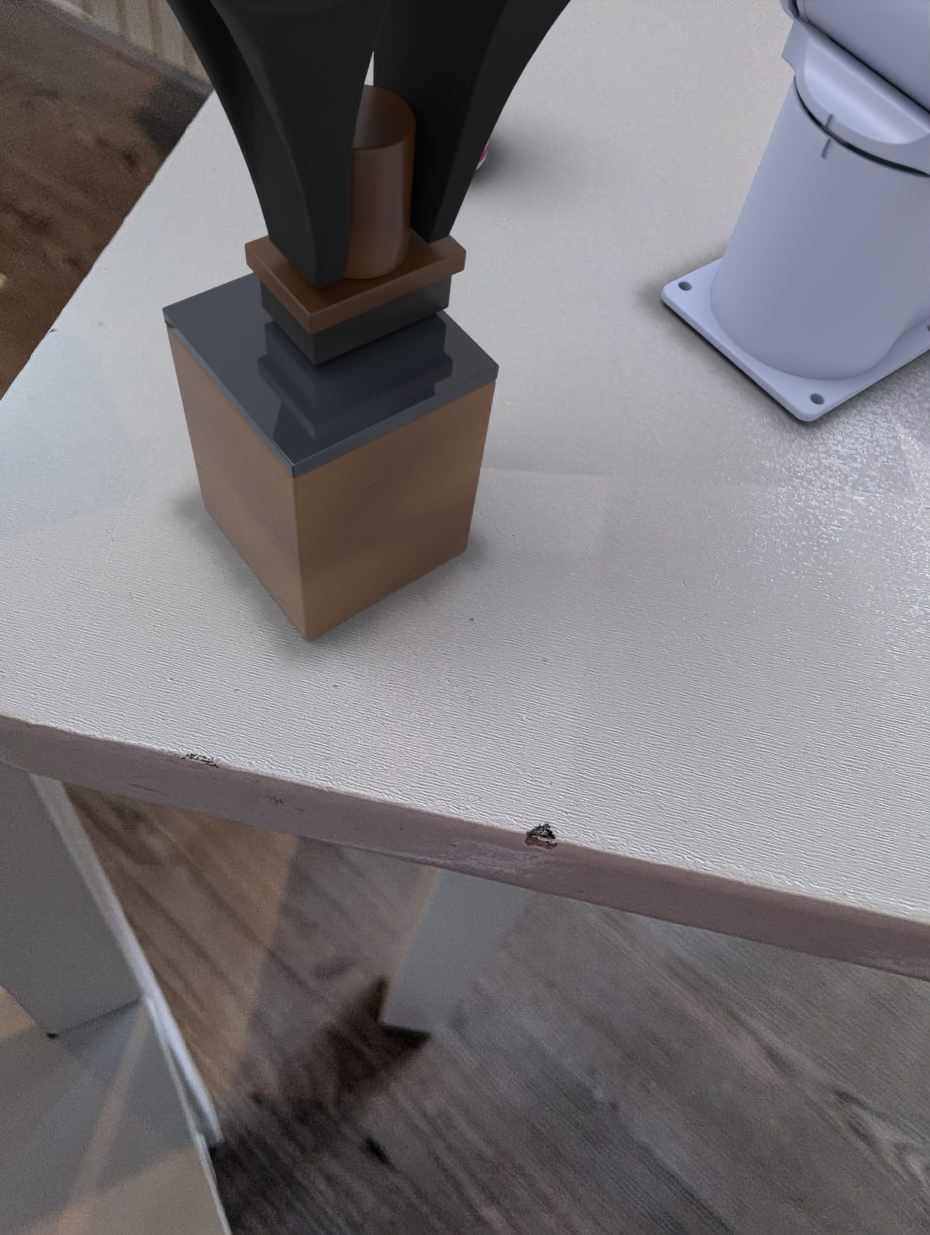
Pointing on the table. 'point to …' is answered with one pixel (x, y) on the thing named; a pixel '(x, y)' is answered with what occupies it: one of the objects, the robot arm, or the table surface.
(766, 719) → the table surface
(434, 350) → the tile
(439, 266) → the rubber stamp
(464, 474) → the stand
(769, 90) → the table surface
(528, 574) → the table surface
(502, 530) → the table surface
